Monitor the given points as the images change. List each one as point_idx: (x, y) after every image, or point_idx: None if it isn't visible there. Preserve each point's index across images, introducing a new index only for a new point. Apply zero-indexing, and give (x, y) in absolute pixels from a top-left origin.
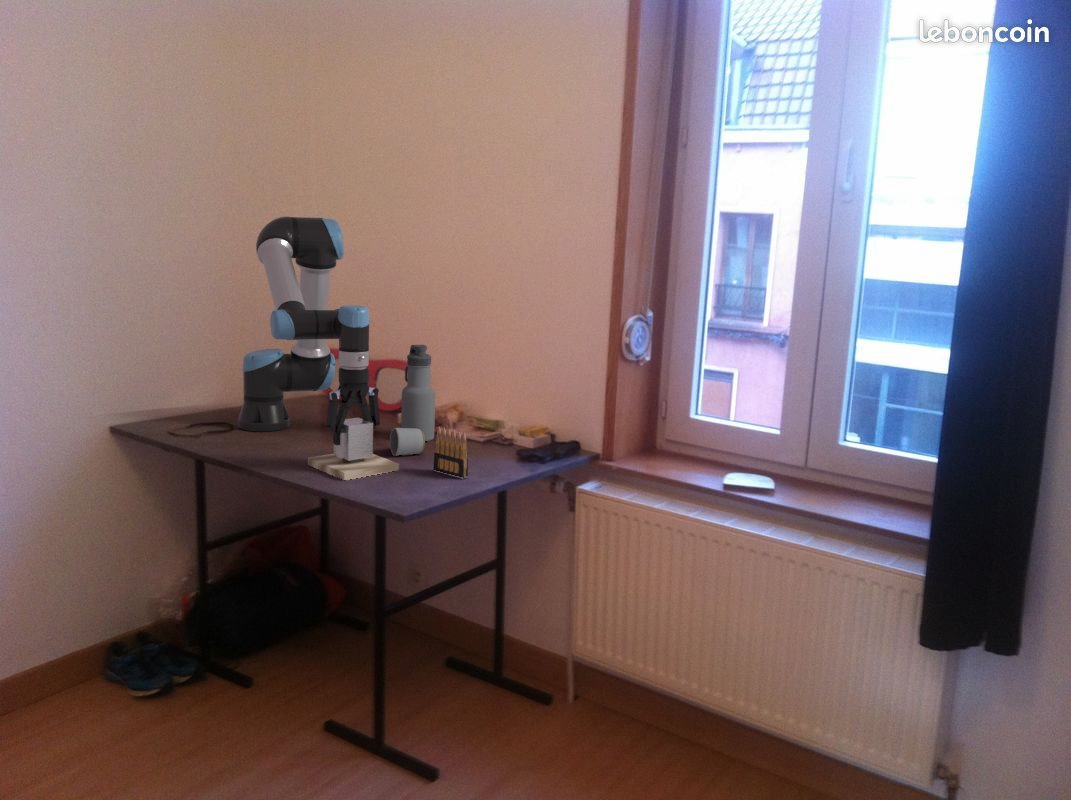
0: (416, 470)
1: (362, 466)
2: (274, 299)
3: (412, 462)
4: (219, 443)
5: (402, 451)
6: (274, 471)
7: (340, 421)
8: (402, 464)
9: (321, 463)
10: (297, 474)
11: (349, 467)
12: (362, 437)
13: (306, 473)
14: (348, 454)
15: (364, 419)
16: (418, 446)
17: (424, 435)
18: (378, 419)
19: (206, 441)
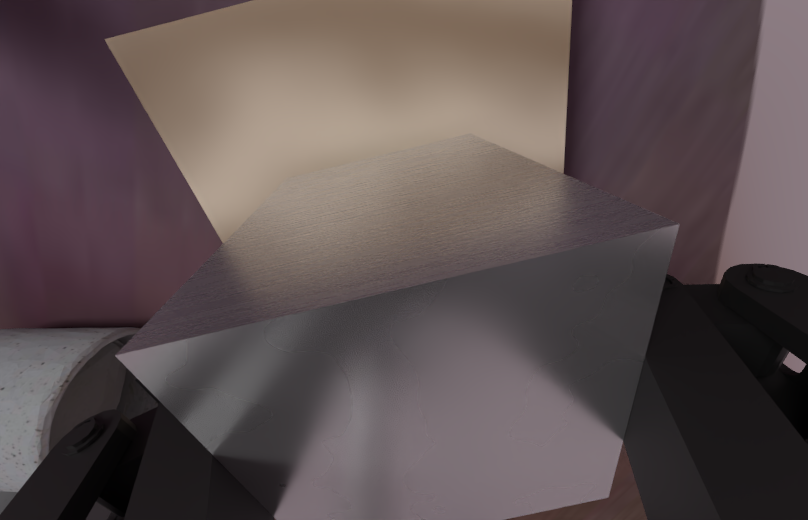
0: (3, 17)
1: (389, 67)
2: None
3: (57, 219)
4: (608, 503)
5: (98, 328)
6: (689, 262)
7: (759, 387)
8: (120, 198)
9: None
10: (655, 191)
11: (474, 77)
12: (361, 207)
13: (615, 194)
14: (483, 139)
15: (257, 505)
16: None
17: (1, 494)
18: (31, 498)
19: (619, 514)
